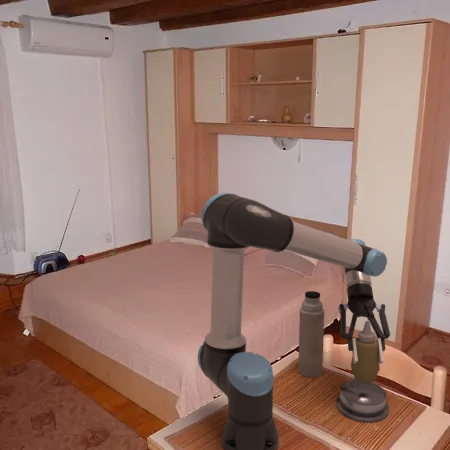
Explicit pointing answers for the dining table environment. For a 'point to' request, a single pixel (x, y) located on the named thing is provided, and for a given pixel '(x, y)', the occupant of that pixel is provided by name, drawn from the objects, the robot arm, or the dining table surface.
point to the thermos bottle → (311, 335)
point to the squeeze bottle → (366, 356)
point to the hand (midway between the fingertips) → (368, 362)
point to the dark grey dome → (362, 402)
